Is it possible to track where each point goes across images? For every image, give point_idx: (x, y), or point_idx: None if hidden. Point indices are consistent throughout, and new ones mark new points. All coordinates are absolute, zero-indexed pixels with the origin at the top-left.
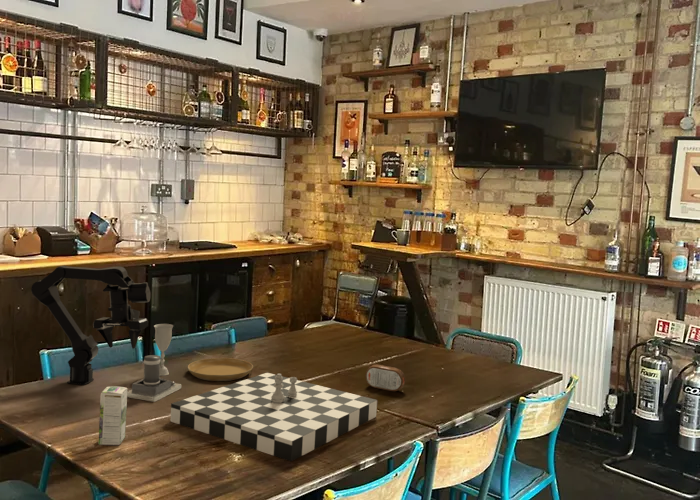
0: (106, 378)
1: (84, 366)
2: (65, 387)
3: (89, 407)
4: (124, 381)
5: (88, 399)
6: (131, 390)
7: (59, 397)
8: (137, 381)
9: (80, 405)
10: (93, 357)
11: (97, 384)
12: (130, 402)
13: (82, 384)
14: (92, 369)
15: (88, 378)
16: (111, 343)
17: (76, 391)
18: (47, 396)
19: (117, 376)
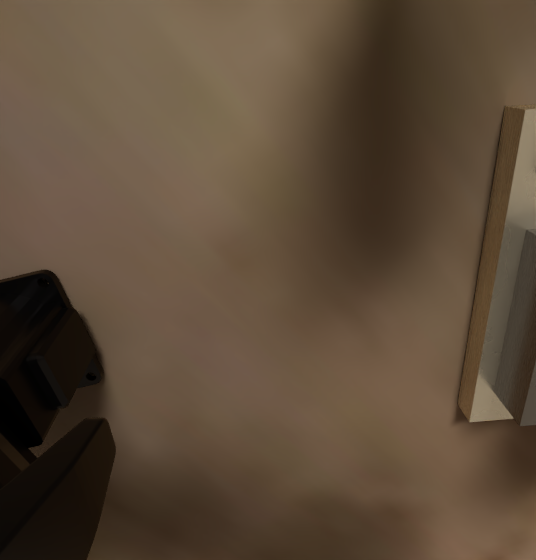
0: (85, 182)
1: (27, 447)
2: (54, 443)
3: (385, 554)
4: (260, 172)
5: (310, 501)
6: (485, 384)
7: (173, 539)
8: (533, 376)
9: (335, 556)
10: (14, 449)
11: (154, 321)
12: (524, 445)
13: (93, 381)
14: (46, 356)
15: (87, 365)
16: (87, 488)
17: (164, 458)
18: (117, 552)
19: (109, 84)
